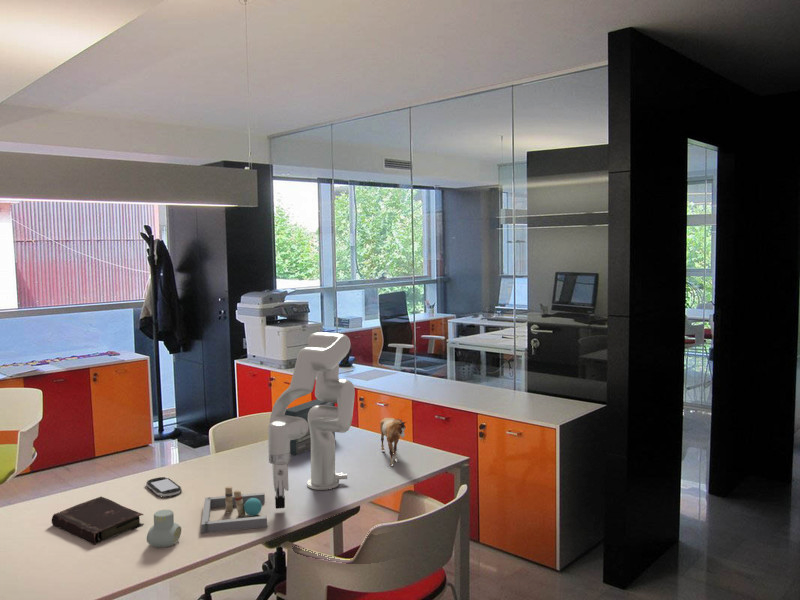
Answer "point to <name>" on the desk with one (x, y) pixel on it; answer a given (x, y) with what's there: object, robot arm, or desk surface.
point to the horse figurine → (392, 433)
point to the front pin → (239, 502)
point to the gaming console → (164, 487)
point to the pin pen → (231, 523)
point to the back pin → (229, 499)
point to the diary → (97, 520)
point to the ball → (252, 506)
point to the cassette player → (302, 411)
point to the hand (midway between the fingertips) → (280, 507)
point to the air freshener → (164, 530)
